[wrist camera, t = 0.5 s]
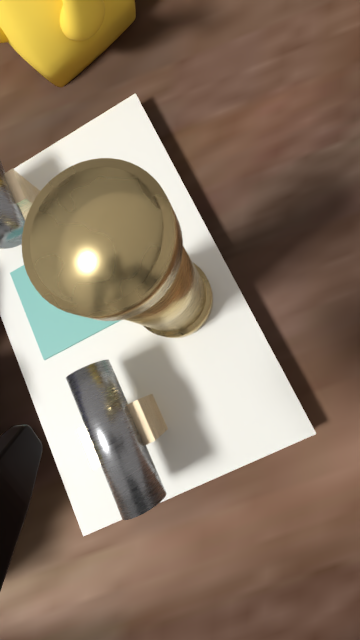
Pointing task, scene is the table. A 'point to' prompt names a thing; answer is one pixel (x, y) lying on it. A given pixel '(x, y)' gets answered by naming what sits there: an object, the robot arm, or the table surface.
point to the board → (149, 346)
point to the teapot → (63, 32)
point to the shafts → (99, 393)
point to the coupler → (114, 250)
